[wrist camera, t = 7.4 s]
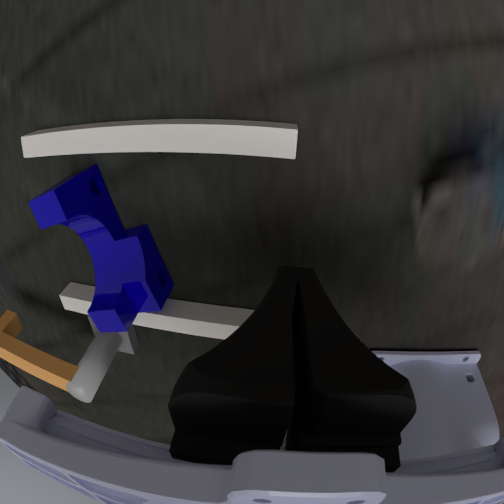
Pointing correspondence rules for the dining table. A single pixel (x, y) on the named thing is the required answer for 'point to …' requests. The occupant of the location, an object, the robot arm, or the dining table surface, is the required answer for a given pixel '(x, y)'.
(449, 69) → the dining table surface
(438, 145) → the dining table surface
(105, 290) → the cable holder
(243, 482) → the robot arm
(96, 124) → the rails
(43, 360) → the tan lever handle
